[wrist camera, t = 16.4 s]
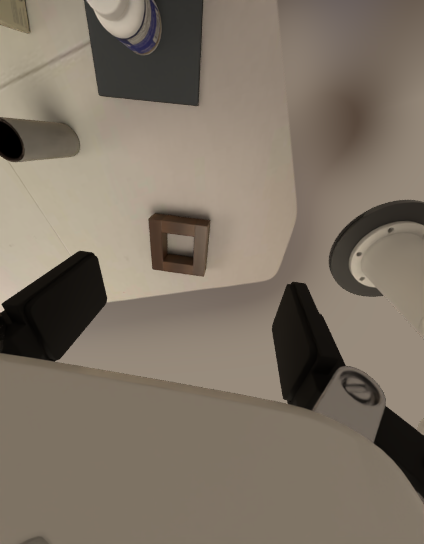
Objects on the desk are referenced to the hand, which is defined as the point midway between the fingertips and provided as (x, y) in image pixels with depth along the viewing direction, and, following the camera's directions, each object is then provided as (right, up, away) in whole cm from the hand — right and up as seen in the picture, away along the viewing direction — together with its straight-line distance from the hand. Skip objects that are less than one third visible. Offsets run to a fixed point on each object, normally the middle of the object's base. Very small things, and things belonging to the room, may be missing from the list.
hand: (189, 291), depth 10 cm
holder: (-5, +7, +30) cm, 31 cm away
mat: (-7, +31, +15) cm, 35 cm away
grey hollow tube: (-22, +22, +23) cm, 39 cm away
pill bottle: (-7, +30, +15) cm, 35 cm away
